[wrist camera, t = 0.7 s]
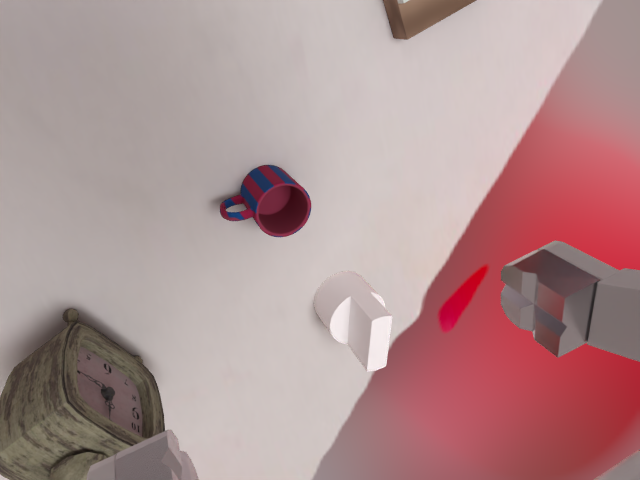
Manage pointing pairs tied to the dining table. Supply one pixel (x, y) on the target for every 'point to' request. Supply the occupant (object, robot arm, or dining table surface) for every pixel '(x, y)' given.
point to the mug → (271, 202)
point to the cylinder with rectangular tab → (355, 317)
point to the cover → (402, 1)
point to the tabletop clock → (75, 406)
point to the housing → (419, 14)
